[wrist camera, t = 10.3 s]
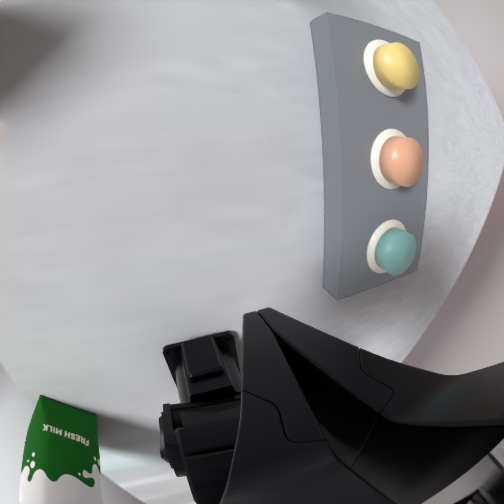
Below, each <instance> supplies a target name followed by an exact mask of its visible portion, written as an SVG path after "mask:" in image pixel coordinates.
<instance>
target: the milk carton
mask: <svg viewBox="0 0 504 504" xmlns="http://www.w3.org/2000/svg"><path fill="white" fill-rule="evenodd" d="M20 504H103V502H102V491H101V474H100V455H99V446H98V436H97V424H96V415H94V414H91V413H88V412H85V411H82V410H79V409H76V408H73V407H70V406H67V405H64V404H62V403H59V402H56V401H54V400H51V399H49V398H46V397H44V396H41V395H40V397H39V400H38V402H37V405H36V408H35V410H34V413H33V416H32V419H31V422H30V425H29V428H28V432H27V437H26V442H25V447H24V454H23V462H22V470H21V481H20Z"/></svg>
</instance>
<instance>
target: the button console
mask: <svg viewBox="0 0 504 504" xmlns="http://www.w3.org/2000/svg"><path fill="white" fill-rule="evenodd" d="M310 26H311V33H312V40H313V48H314V55H315V64H316V72H317V82H318V92H319V103H320V116H321V130H322V148H323V171H324V274H323V288H324V289H325V290H327V291H328V292H329V293H330V294H331V295H332V296H333V297H334V298H335V299H336V300H339V299H342V298H345V297H348V296H351V295H353V294H356V293H359V292H362V291H365V290H367V289H370V288H373V287H375V286H378V285H381V284H383V283H386V282H389V281H391V280H394V279H396V278H399V277H401V276H404V275H406V274H409V273H411V272H414V271H416V270H417V267H418V261H419V256H420V249H421V243H422V236H423V228H424V220H425V210H426V199H427V185H428V162H429V131H428V108H427V95H426V84H425V75H424V68H423V61H422V54H421V48H420V43H419V42H417V41H415V40H413V39H410V38H408V37H405V36H403V35H400V34H398V33H395V32H392V31H390V30H387V29H384V28H381V27H378V26H375V25H372V24H369V23H366V22H362V21H359V20H355V19H352V18H348V17H344V16H340V15H336V14H332V13H327V12H326V13H324V14H322V15H320V16H319V17H317V18H315V19H314V20H312V21H310ZM394 42H398V43H402V44H404V45H405V46H406V47H408V48H409V49H410V51H411V52H412V53H413V55H414V56H415V58H416V60H417V63H418V66H419V81H418V84H417V85H416V86H415V87H414V88H412V89H400V90H392V89H390V88H388V87H386V86H385V85H384V84H383V83H382V82H381V81H380V80H379V78H378V77H377V75H376V73H375V70H374V67H373V53H374V51H375V49H376V48H377V47H379V46H382V45H386V44H390V43H394ZM392 136H399V137H408V138H413V139H415V140H416V141H417V142H418V143H419V145H420V147H421V149H422V152H423V156H424V166H423V171H422V174H421V177H420V179H419V180H418V181H417V183H416V184H414V185H413V186H411V187H405V186H401V185H398V184H394V183H391V182H389V181H387V180H386V179H385V178H384V176H383V175H382V173H381V170H380V165H379V154H380V150H381V147H382V145H383V143H384V142H385V141H386V140H387V139H388V138H389V137H392ZM392 227H397V228H400V229H402V230H404V231H406V232H408V233H410V234H412V235H413V236H414V238H415V240H416V253H415V256H414V259H413V261H412V263H411V264H410V266H409V267H408V269H407V270H406V271H405V272H403V273H402V274H400V275H397V276H393V275H391V274H389V273H388V272H386V271H385V270H383V269H382V268H380V267H379V266H378V265H377V264H376V262H375V257H374V254H375V248H376V245H377V242H378V240H379V239H380V237H381V236H382V234H383V233H384V232H385V231H386V230H388V229H390V228H392Z"/></svg>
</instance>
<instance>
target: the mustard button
mask: <svg viewBox="0 0 504 504" xmlns="http://www.w3.org/2000/svg"><path fill="white" fill-rule="evenodd" d="M373 67H374V70H375V73H376V75H377V77H378V78H379V80H380V81H381V82H382V83H383V84H384V85H385V86H386V87H388V88H390V89H392V90H400V89H412V88H414V87H415V86H416V85H417V84H418V81H419V66H418V63H417V60H416V58H415V56H414V55H413V53H412V52H411V51H410V49H409V48H408V47H406V46H405V45H404V44H402V43H398V42H394V43H390V44H386V45H382V46H379V47H377V48H376V49H375V51H374V53H373Z"/></svg>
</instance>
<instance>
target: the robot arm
mask: <svg viewBox="0 0 504 504" xmlns="http://www.w3.org/2000/svg"><path fill="white" fill-rule="evenodd" d="M228 336H230V337H228ZM226 337H228V338H226ZM167 351H170V352H167ZM163 355H164V357H165V360H166V362H167V365H168V367H169V369H170V372H171V374H172V377H173V379H174V381H175V384H176V386H177V388H178V392H179V398H180V403H179V404H170V403H169V404H163V411H164V412H161V413H162V416H161V417H160V418H159V425H160V433H161V440H160V454H161V458H162V459H164V460H165V461H167V462H168V463H170V466H171V468H172V469H174V471H175V474H176V476H177V477H182V476H187V479H188V483H189V486H190V489H191V492H192V495H193V498H194V501H195V502H196V503H197V504H504V362H502V363H499V364H496V365H493V366H490V367H487V368H483V369H480V370H476V371H473V372H469V373H466V374H461V375H443V374H438V373H435V372H431V371H427V370H423V369H420V368H416V367H412V366H409V365H405V364H402V363H399V362H396V361H393V360H390V359H386V358H384V357H381V356H379V355H376V354H373V353H371V352H368V351H366V350H364V349H361V348H360V349H359V348H358V347H356V346H354V345H352V344H349V343H347V342H345V341H342V340H340V339H338V338H336V337H333V336H331V335H329V334H327V333H324V332H322V331H320V330H318V329H315V328H313V327H311V326H309V325H306V324H304V323H302V322H300V321H298V320H296V319H293V318H291V317H289V316H287V315H285V314H283V313H280V312H278V311H276V310H274V309H272V308H269V307H268V308H264V309H261V310H258V311H257V312H255V311H253V312H249V313H246V314H244V315H243V334H242V377H241V374H240V369H239V363H238V358H237V352H236V346H235V341H234V336H233V334H232V332H229V331H227V332H223V333H219V334H215V335H211V336H207V337H203V338H199V339H194V340H190V341H186V342H181V343H177V344H172V345H168V346H165V347H164V348H163Z"/></svg>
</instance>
